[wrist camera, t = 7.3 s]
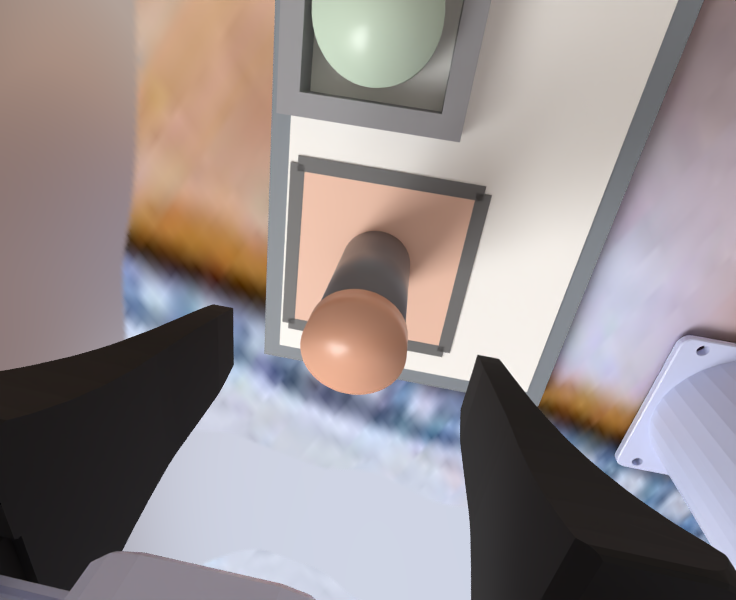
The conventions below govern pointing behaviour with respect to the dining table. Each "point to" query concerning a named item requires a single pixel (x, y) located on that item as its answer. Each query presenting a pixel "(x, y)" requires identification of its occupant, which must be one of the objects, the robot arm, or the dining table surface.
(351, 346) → the marker
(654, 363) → the dining table surface
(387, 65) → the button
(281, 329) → the board
